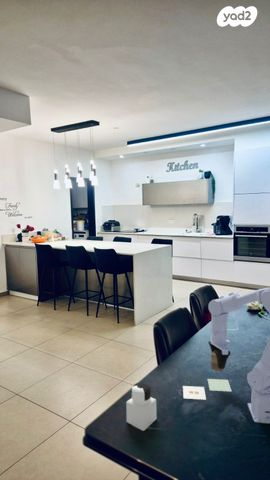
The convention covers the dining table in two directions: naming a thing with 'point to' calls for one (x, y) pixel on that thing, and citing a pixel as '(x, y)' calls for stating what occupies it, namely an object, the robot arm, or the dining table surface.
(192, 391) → the white tile
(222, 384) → the sage mat
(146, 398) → the medicine bottle
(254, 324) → the dining table surface
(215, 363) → the walnut block
